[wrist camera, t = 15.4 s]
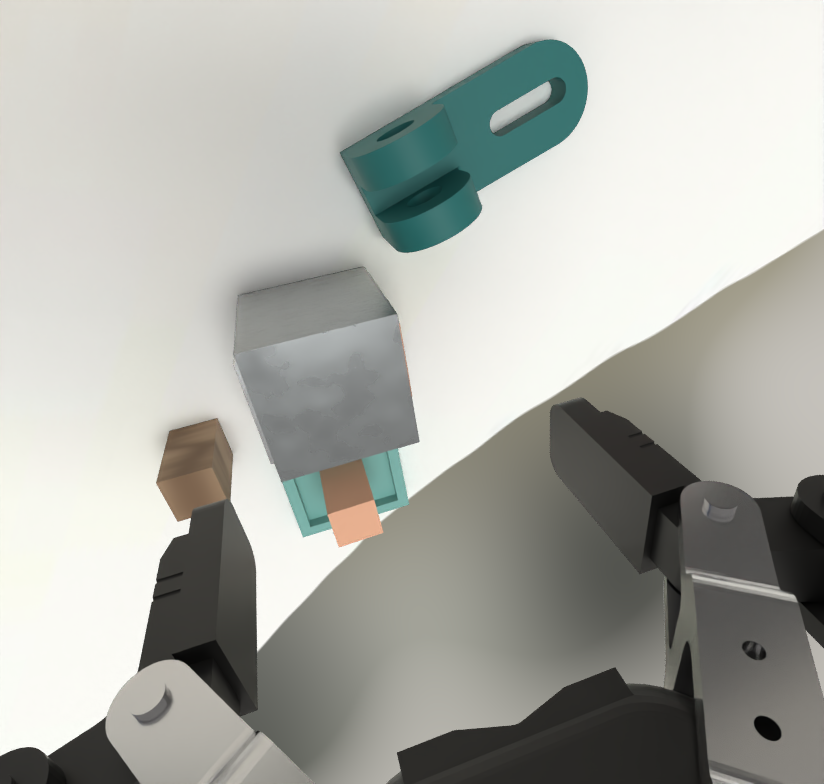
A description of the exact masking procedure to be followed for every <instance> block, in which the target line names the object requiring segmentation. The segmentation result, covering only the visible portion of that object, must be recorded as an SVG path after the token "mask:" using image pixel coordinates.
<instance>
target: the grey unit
mask: <svg viewBox="0 0 824 784" xmlns="http://www.w3.org/2000/svg"><path fill="white" fill-rule="evenodd" d="M233 366H234V368H235V371H236V374H237V376H238V379H239V381H240V384H241V387H242V389H243V392H244V394H245V397H246V400H247V402H248V405H249V408H250V410H251V413H252V415H253V418H254V421H255V423H256V426H257V428H258V431H259V434H260V436H261V439H262V442H263V444H264V447H265V449H266V452H267V455H268V457H269V460H270V462H271V464H273V463H275V466H276V469H277V471H278V474H279V477H280V479H281V482H284V481H287V480H291V479H294V478H298V477H301V476H305V475H308V474H311V473H315V472H318V471H322V470H325V469H329V468H332V467H335V466H339V465H342V464H346V463H349V462H353V461H356V460H359V459H363V458H366V457H370V456H373V455H377V454H380V453H383V452H387V451H390V450H394V449H397V448H401V447H404V446H407V445H411V444H414V443H418V442H419V436H418V430H417V424H416V419H415V413H414V407H413V401H412V392H411V386H410V380H409V374H408V369H407V363H406V357H405V351H404V345H403V340H402V334H401V328H400V323H399V321H398V315H397V313H396V311H395V310H394V309H393V307H392V306H391V304H390V303H389V301H388V300H387V299H386V297H385V296H384V294H383V293H382V292H381V290H380V289H379V287H378V286H377V284H376V283H375V282H374V280H373V279H372V277H371V276H370V275H369V273H368V272H367V270H366V269H365V267H360V268H355V269H351V270H346V271H342V272H338V273H333V274H329V275H325V276H320V277H316V278H312V279H307V280H303V281H299V282H294V283H290V284H285V285H281V286H277V287H272V288H268V289H264V290H259V291H255V292H251V293H246V294H242V295H238V301H237V314H236V328H235V341H234V354H233Z"/></svg>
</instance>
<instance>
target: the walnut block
mask: <svg viewBox="0 0 824 784" xmlns="http://www.w3.org/2000/svg"><path fill="white" fill-rule="evenodd" d="M232 462H233V453H232V451H231V449H230V446H229V444H228V442H227V440H226V437H225V435H224V433H223V430H222V428H221V426H220V423H219V421H218V419H217V418H216V419H213V420H209V421H205V422H201V423H198V424H194V425H190V426H187V427H183V428H179V429H175V430H172V431H169V435H168V439H167V443H166V446H165V450H164V454H163V458H162V462H161V466H160V470H159V474H158V478H157V482H156V484H157V485H158V487H159V489H160V491H161V493H162V494H163V496H164V498H165V500H166V502H167V503H168V505H169V507H170V509H171V511H172V512H173V514H174V516H175V518H176V519H177V521H182V520H185V519H188V518H191V514H192V511H193V509H194V508H197V507H200V506H204V505H207V504H211V503H214V502H217V501H221V500H224V499H229V500H230V498H231V480H232Z"/></svg>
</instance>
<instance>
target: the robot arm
mask: <svg viewBox="0 0 824 784" xmlns="http://www.w3.org/2000/svg"><path fill="white" fill-rule="evenodd" d="M550 458H551V462H552V465H553V467H554V470H555V472H556V473H557V475H558V476H559V478H560V479H561V480H562V481H563V483H564V484H565V485H566V486H567V487H568V489H569V490H570V491H571V492H572V493H573V495H575V497H576V498H577V499H578V501H580V503H581V504H582V505H583V506H584V507H585V509H586V510H587V511H588V513H589V514H590V515H591V516H592V517H593V518H594V520H595V521H596V522H597V523H598V524H599V526H600V527H601V528H602V529H603V530H604V532H605V533H606V534H607V535H608V536H609V538H610V539H611V540H612V541H613V542H614V544H615V545H616V546H617V547H618V548H619V550H620V551H621V552H622V553H623V554H624V556H625V557H626V558H627V559H628V560H629V562H630V563H631V564H632V565H633V566H634V568H635V569H636V570H637V571H638V572H639V574H642V573H644V572H647V571H650V570H653V569H655V568H659V569H660V571H661V572H662V573H663V574H664V575H665V578H664V585H663V586H664V622H665V655H666V657H665V659H666V660H665V661H666V662H665V676H664V687H663V688H662V687H658V686H652V685H646V684H626V683H625V682H624V680H623V679H622V677H621V676H620V674H619V673H618V671H617V670H616V668H612V669H610V670H607V671H604V672H602V673H599V674H597V675H594V676H592V677H589V678H587V679H584V680H581V681H579V682H576V683H574V684H571V685H569V686H566V687H564V688H563V689H562V690H560V691H559V692H558V693H557V694H555V695H554V696H553V697H552V698H550V699H549V700H548V701H547V702H545V703H544V704H543V705H542V706H540V707H539V708H538V709H537V710H535V711H534V712H533V713H532V714H531V715H529V716H528V717H527V718H526V719H524V720H523V721H522V722H520V723H519V724H516V725H511V726H500V727H490V728H477V729H466V730H454V731H451V732H449V733H446V734H444V735H441V736H438V737H436V738H433V739H431V740H428V741H426V742H423V743H421V744H418V745H415V746H413V747H410V748H408V749H405V750H403V751H400V752H397V755H398V760H399V764H400V769H401V772H399V773H398V774H397V775H396V776H394V777H393V778H392V779H391V780H389V782H388V783H387V784H824V698H823V694H822V690H821V686H820V683H819V679H818V675H817V671H816V668H815V664H814V660H813V656H812V653H811V649H810V646H809V642H808V638H807V634H806V631H807V632H808V633H809V634H810V635H811V636H812V637H813V638H814V639H815V640H816V641H817V642H818V643H819V644H820V645H821V646H822V647H823V648H824V475H815V476H810V477H807V478H805V479H803V480H802V481H801V482H800V483H799V484H798V487H797V490H796V493H795V495H794V497H774V498H752V497H751V496H750V495H748V494H747V493H745V492H744V491H742V490H741V489H739V488H736V487H734V486H732V485H729V484H725V483H721V482H715V481H701V480H700V479H699V478H697V477H696V476H695V475H694V474H693V473H691V472H690V471H689V470H688V469H686V468H685V467H684V466H683V465H682V464H680V463H679V462H678V461H677V460H676V459H674V458H673V457H672V456H671V455H670V454H668V453H667V452H666V451H665V450H663V449H662V448H661V447H660V446H659V445H658V444H656V445H655V444H654V441H653V440H651V439H650V438H649V437H648V436H647V435H645V434H642V431H641V430H639V429H638V428H637V427H635V426H634V425H633V424H632V423H631V422H630V421H629V420H627V419H625V418H623V417H620V416H618V415H616V414H613V413H611V412H609V411H604V412H600V411H598V410H597V409H596V408H595V407H594V406H593V405H591V404H590V403H589V402H588V401H587V400H585V399H584V398H577V399H573V400H570V401H567V402H563V403H560V404H556V405H553V406H552V408H551V411H550ZM156 581H157V584H155V589H154V594H153V602H152V604H151V609H150V614H149V619H148V624H147V629H146V634H145V639H144V644H143V649H142V654H141V659H140V664H139V668H138V672H137V674H136V675H134V676H133V677H132V678H131V679H130V680H129V681H128V682H127V683H126V684H125V685H124V686H123V687H122V688H121V690H120V691H119V692H118V694H117V695H116V697H115V698H114V700H113V702H112V704H111V706H110V708H109V711H108V714H107V716H106V717H105V718H104V719H103V720H102V721H100V722H99V723H97V724H96V725H95V726H93V727H92V728H90V729H89V730H87V731H86V732H84V733H82V734H81V735H79V736H78V737H76V738H75V739H73V740H72V741H70V742H69V743H67V744H65V745H64V746H62V747H61V748H59V749H58V750H56V751H55V752H53V753H52V754H50V755H48V756H47V755H46V754H44V753H43V752H42V751H41V750H39V749H36V748H33V747H25V748H19V749H16V750H13V751H10V752H8V753H6V754H4V755H2V756H0V784H315V783H314V782H313V781H311V780H310V778H309V777H308V776H307V775H306V774H305V773H304V772H303V771H302V770H301V769H299V768H298V767H297V766H296V765H295V764H294V763H293V762H292V761H291V760H290V759H289V758H288V757H287V756H286V755H285V754H284V753H283V752H282V751H281V750H280V749H279V748H278V747H277V746H276V745H275V744H274V743H273V742H272V741H271V740H270V739H269V738H267V737H266V736H265V735H264V734H263V733H262V732H260V731H257V732H255V731H254V730H252V729H251V728H250V727H249V726H248V725H247V724H246V723H245V722H244V721H243V720H242V719H241V718H240V716H242V715H245V714H248V713H251V712H254V711H256V710H257V709H258V702H257V701H258V700H257V619H256V566H255V560H254V555H253V551H252V548H251V545H250V543H249V540H248V538H247V536H246V534H245V532H244V529H243V527H242V525H241V523H240V521H239V518H238V516H237V514H236V512H235V510H234V507H233V505H232V503H231V502H230V500H229V499H224V500H221V501H217V502H214V503H211V504H207V505H204V506H200V507H197V508H194V509H193V511H192V514H191V521H190V528H189V534H186V535H183V536H179V537H176V538H174V539H173V540H172V542H171V543H170V545H169V546H168V548H167V549H166V551H165V553H164V554H163V556H162V557H161V559H160V563H159V568H158V573H157V578H156Z"/></svg>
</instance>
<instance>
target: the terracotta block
mask: <svg viewBox="0 0 824 784" xmlns="http://www.w3.org/2000/svg"><path fill="white" fill-rule="evenodd" d="M319 472H320V477H321V483H322V488H323V494H324V499H325V504H326V510H327V515H328V518H329V521H330V523H331V526H332V529H333V532H334V535H335V537H336V540H337V543H338V546H339V547H342V546H345V545H348V544H351V543H354V542H357V541H360V540H363V539H366V538H368V537H371V536H375V535H378V534H381V533H383V530H382V526H381V522H380V519H379V515H378V512H377V508H376V504H375V501H374V498H373V494H372V491H371V488H370V485H369V482H368V478H367V475H366V472H365V469H364V465H363V462H362V459H359V460H356V461H353V462H349V463H346V464H342V465H339V466H335V467H332V468H329V469H325V470H322V471H319Z"/></svg>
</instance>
